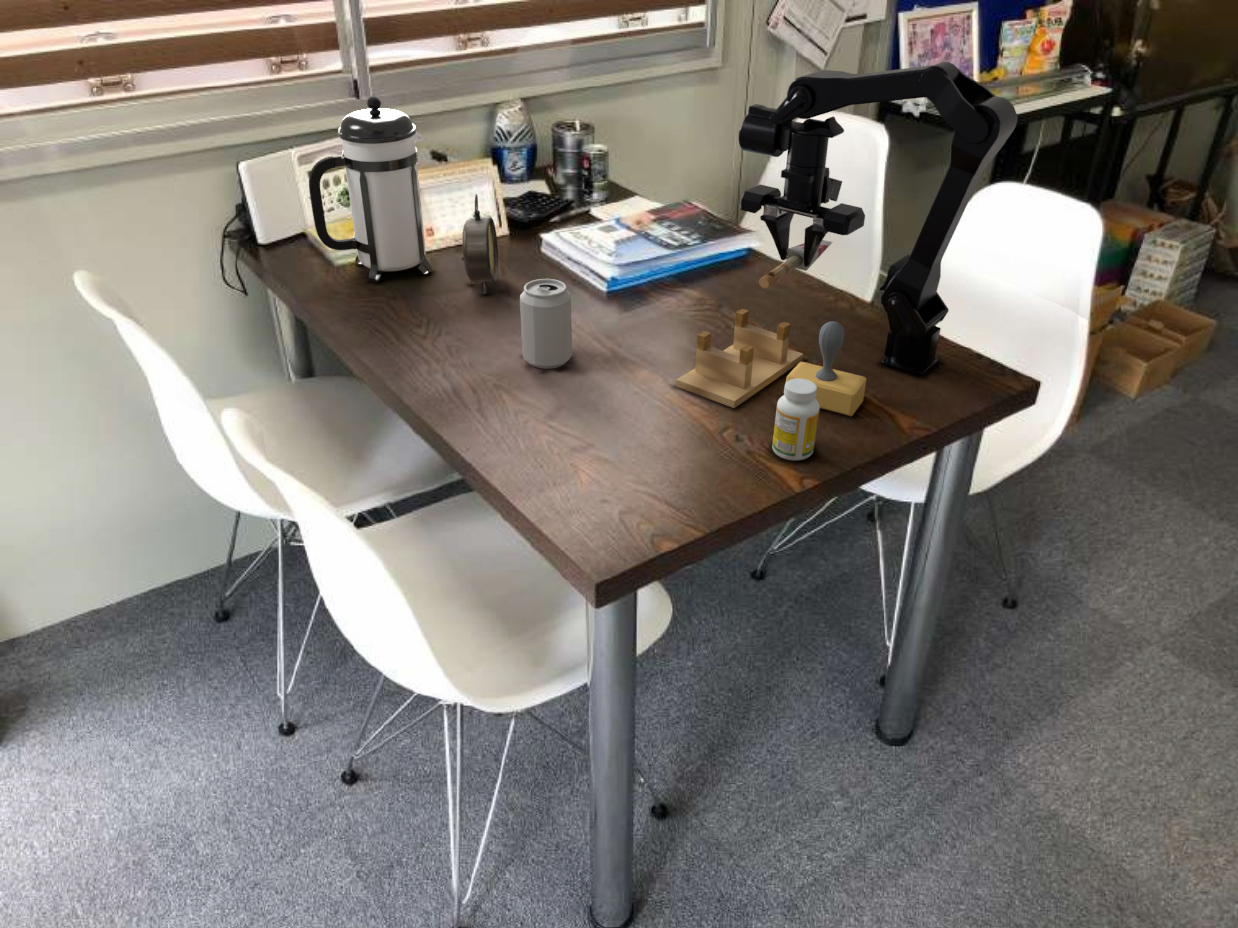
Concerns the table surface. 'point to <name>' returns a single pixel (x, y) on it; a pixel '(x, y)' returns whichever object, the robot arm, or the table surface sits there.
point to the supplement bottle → (796, 420)
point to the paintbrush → (792, 263)
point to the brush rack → (740, 363)
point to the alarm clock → (480, 249)
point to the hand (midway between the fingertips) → (795, 262)
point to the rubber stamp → (832, 375)
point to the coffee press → (377, 190)
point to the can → (546, 323)
